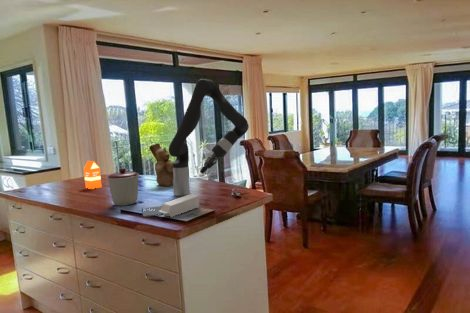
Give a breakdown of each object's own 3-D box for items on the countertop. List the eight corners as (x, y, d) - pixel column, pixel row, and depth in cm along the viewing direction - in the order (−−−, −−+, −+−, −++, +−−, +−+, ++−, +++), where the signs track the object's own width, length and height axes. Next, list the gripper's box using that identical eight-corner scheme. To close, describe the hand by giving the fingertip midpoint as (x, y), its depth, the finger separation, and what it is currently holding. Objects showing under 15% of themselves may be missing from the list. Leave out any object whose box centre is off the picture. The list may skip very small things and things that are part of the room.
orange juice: (95, 186, 265) (92, 160, 263) (101, 187, 260) (99, 160, 258) (85, 188, 259) (82, 161, 257) (92, 189, 254) (89, 161, 252)
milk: (191, 193, 186) (157, 204, 170) (199, 195, 182) (165, 207, 166) (191, 204, 187) (158, 216, 171) (199, 206, 184) (166, 219, 167)
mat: (143, 217, 173) (143, 216, 173) (141, 209, 188) (141, 208, 188) (189, 211, 179) (189, 209, 179) (184, 204, 194) (184, 203, 194)
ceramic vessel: (168, 187, 245) (165, 144, 241) (146, 185, 256) (142, 144, 253) (183, 183, 258) (180, 142, 254) (162, 181, 270) (158, 142, 266)
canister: (116, 200, 213) (112, 166, 210) (145, 199, 212) (142, 164, 210) (104, 208, 195) (100, 171, 192) (136, 207, 194) (132, 169, 192)
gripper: (214, 142, 194) (193, 166, 192) (220, 144, 182) (198, 170, 180) (224, 151, 196) (204, 175, 194) (230, 153, 184) (209, 179, 182)
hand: (201, 172), depth 187 cm, fingers closed
